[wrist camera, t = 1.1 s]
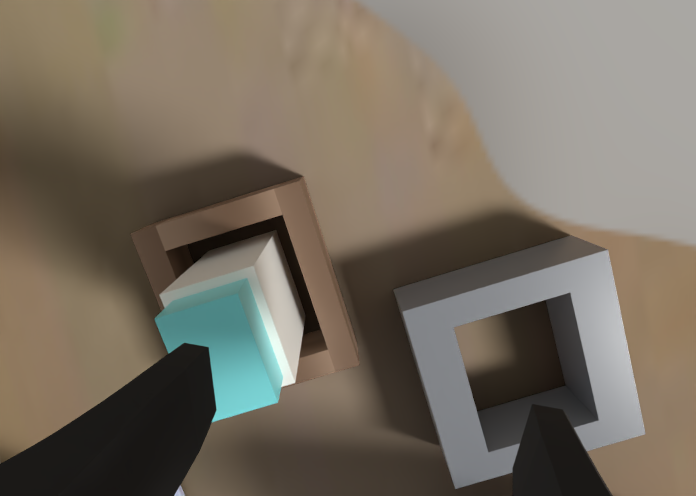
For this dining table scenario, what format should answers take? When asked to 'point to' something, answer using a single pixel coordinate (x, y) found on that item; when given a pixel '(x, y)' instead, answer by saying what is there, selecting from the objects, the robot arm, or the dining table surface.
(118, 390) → the robot arm
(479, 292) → the port panel
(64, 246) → the dining table surface
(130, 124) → the dining table surface
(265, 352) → the plug
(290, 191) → the brown wooden frame
